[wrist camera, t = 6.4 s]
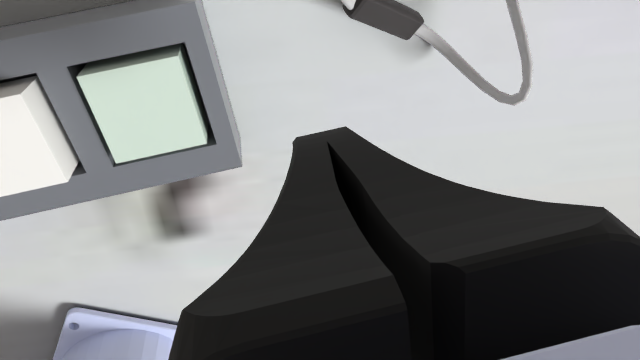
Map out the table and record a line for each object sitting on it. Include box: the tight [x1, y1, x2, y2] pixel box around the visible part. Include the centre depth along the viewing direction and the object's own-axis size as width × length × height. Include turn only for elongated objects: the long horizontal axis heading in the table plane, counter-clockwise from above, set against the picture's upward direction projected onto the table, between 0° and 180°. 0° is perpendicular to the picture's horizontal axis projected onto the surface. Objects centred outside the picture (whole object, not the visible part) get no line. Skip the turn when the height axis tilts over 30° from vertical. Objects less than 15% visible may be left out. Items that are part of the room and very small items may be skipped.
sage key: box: [77, 43, 208, 164], centre depth 17 cm, size 3×3×2 cm
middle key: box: [0, 76, 80, 197], centre depth 17 cm, size 3×3×2 cm
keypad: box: [0, 0, 242, 221], centre depth 18 cm, size 15×6×3 cm, turn 99°
